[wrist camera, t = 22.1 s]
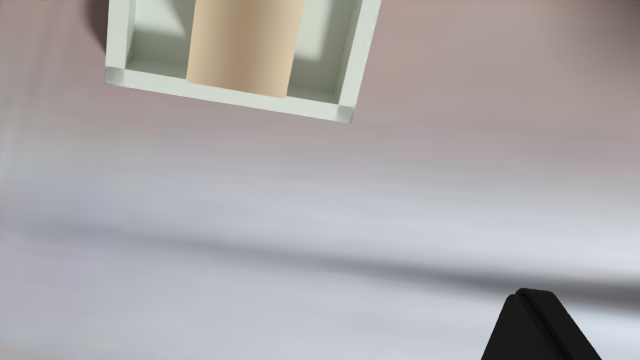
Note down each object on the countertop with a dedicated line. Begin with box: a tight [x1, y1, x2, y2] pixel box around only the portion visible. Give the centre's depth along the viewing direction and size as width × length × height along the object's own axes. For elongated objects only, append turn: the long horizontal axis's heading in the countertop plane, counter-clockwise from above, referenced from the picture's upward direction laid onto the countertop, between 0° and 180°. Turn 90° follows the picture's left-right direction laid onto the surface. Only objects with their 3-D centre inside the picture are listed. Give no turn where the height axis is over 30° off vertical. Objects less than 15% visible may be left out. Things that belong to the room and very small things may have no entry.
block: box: [186, 0, 305, 99], centre depth 32 cm, size 5×5×6 cm
